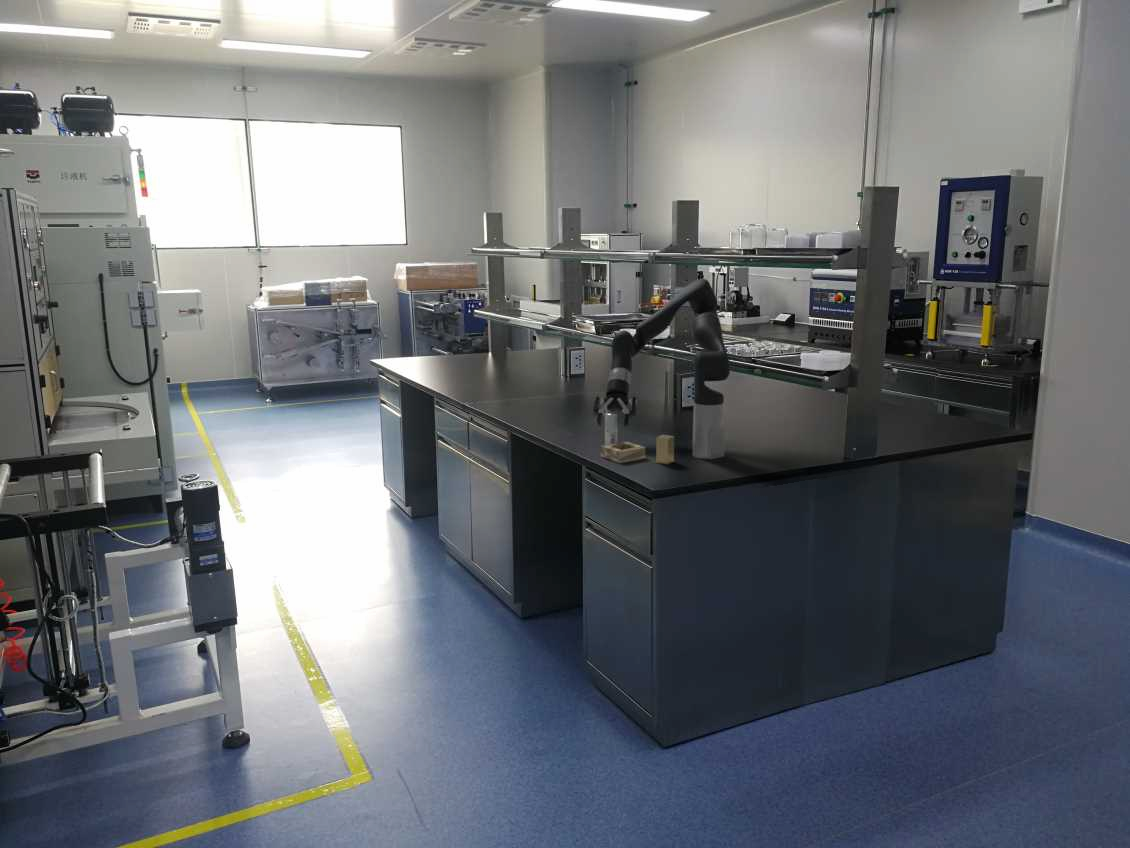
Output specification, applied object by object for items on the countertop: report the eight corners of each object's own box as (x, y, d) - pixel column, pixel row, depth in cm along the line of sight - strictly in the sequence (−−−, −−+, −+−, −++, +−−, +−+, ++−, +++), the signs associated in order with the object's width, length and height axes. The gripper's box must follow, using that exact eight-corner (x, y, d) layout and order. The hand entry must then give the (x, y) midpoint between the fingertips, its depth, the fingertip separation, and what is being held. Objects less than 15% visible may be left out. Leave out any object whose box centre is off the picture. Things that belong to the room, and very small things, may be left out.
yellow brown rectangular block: (673, 461, 264) (674, 436, 262) (667, 464, 260) (668, 438, 259) (662, 459, 266) (662, 434, 264) (656, 462, 263) (656, 437, 261)
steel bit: (619, 450, 278) (619, 414, 275) (609, 451, 276) (609, 415, 273) (612, 447, 281) (612, 412, 279) (602, 449, 279) (602, 413, 276)
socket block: (645, 458, 268) (645, 447, 267) (620, 463, 262) (620, 452, 261) (625, 451, 276) (625, 441, 275) (600, 456, 270) (600, 445, 269)
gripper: (641, 390, 289) (635, 431, 281) (600, 389, 293) (593, 430, 285) (638, 378, 283) (632, 420, 275) (596, 377, 287) (589, 418, 279)
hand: (612, 425), depth 280 cm, fingers open, 8 cm apart
